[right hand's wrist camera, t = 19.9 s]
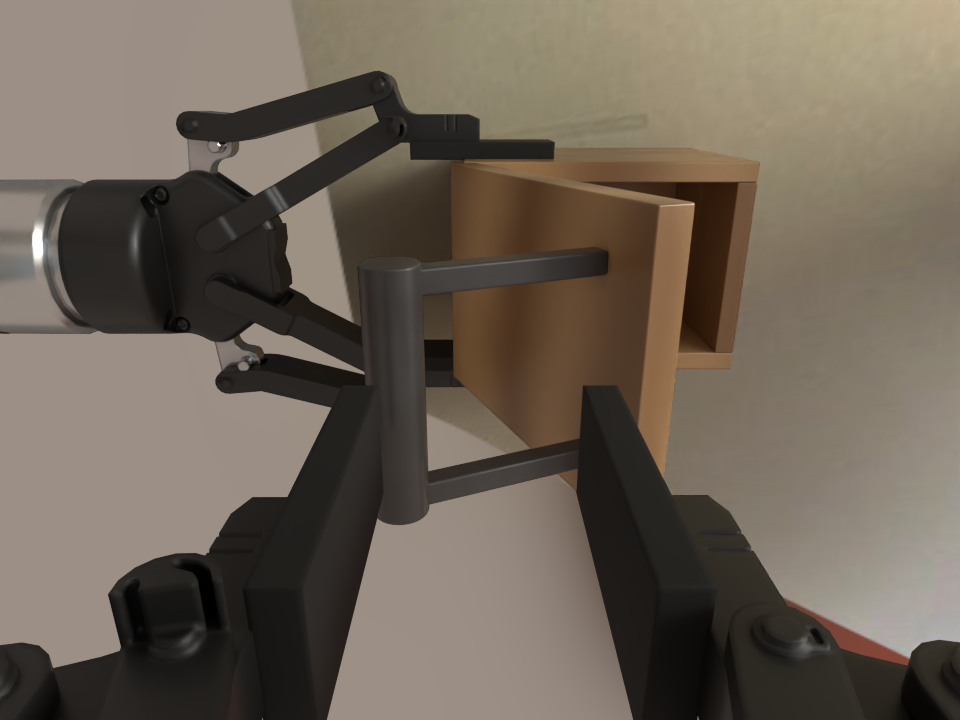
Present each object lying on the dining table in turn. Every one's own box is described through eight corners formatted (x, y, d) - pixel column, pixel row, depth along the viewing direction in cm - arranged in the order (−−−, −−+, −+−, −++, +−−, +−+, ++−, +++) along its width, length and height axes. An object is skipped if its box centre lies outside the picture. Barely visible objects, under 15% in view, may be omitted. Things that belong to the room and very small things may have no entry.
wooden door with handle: (696, 202, 16) (381, 223, 13) (658, 530, 20) (401, 606, 17) (474, 162, 28) (281, 169, 25) (475, 372, 32) (304, 400, 28)
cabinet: (690, 148, 38) (760, 162, 28) (672, 309, 41) (730, 369, 32) (467, 148, 38) (463, 161, 28) (468, 309, 41) (464, 369, 32)
